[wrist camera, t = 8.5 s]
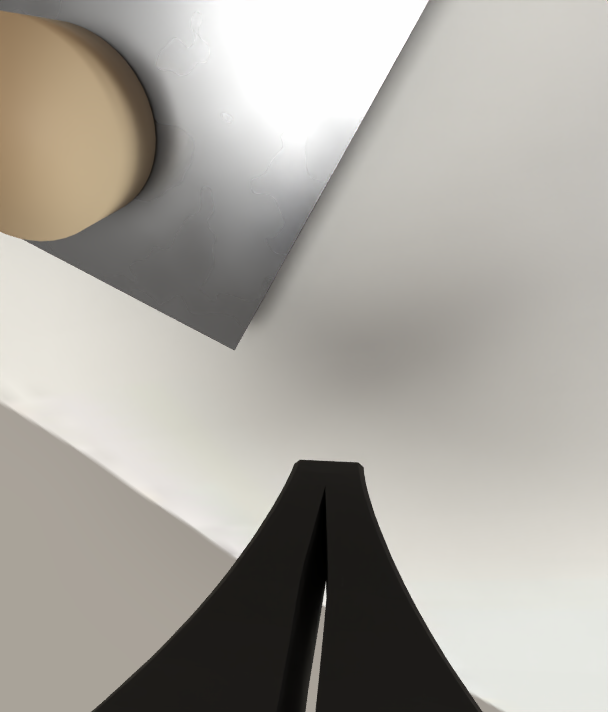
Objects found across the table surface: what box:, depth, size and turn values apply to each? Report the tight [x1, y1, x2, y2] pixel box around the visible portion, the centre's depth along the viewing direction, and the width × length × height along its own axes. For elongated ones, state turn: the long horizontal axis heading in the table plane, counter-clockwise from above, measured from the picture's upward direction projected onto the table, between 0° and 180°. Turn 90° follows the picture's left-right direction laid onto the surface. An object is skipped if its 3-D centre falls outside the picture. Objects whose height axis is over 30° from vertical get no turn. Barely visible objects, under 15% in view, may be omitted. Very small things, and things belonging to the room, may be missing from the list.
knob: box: [0, 11, 156, 241], centre depth 13 cm, size 5×5×2 cm
